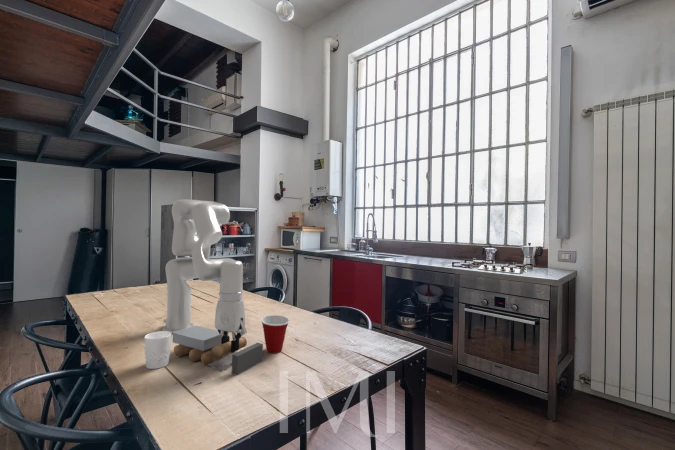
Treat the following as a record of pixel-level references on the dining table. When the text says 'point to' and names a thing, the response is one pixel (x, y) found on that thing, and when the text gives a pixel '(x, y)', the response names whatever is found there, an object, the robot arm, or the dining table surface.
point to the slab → (197, 337)
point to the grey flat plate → (222, 362)
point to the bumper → (247, 358)
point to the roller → (227, 348)
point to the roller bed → (196, 354)
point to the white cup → (157, 349)
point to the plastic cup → (274, 332)
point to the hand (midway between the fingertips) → (230, 349)
